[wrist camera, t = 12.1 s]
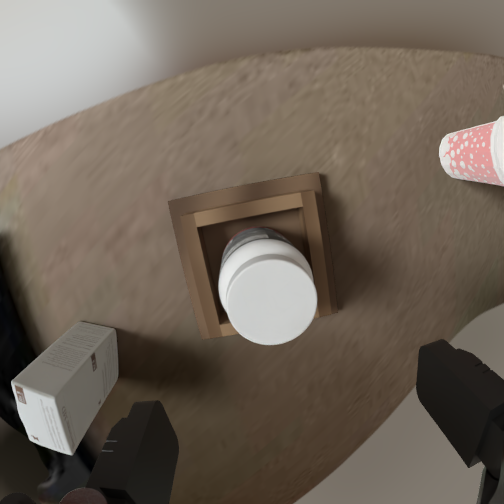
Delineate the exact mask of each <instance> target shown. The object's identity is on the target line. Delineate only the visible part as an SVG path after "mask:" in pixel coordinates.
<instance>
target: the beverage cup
mask: <svg viewBox="0 0 504 504" xmlns="http://www.w3.org/2000/svg"><path fill="white" fill-rule="evenodd" d="M439 157H440V160H441V164H442V166H443V168H444V170H445V171H446V173H447V174H449V175H450V176H451V177H452V178H457V179H462V180H469V181H476V182H482V183H488V184H494V185H500V186H504V116H502V117H500V118H499V119H498V120H497V121H495V122H491V123H487V124H483V125H479V126H476V127H472V128H468V129H464V130H461V131H457V132H454V133H450V134H447V135H446V136H445V137H444V138H443V139H442V142H441V144H440V149H439Z"/></svg>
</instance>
